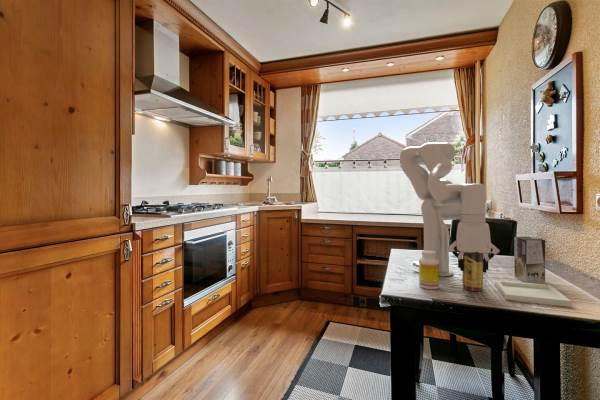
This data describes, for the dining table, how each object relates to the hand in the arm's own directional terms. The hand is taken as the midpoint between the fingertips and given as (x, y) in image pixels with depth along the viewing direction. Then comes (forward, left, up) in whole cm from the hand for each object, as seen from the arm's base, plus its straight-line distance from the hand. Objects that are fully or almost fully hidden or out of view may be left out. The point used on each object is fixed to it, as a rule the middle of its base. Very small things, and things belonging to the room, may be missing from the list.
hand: (472, 270), depth 104 cm
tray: (+16, 0, -7) cm, 17 cm away
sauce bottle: (0, 0, -7) cm, 7 cm away
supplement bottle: (-14, -2, -7) cm, 16 cm away
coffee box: (+21, +19, -7) cm, 29 cm away
